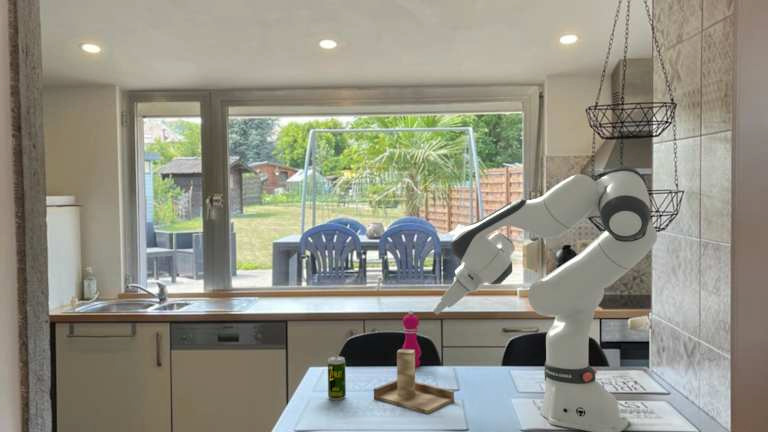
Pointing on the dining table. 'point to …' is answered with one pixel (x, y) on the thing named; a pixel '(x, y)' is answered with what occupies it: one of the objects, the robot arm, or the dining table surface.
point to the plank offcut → (405, 372)
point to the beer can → (336, 378)
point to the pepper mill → (411, 335)
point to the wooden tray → (415, 397)
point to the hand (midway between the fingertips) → (437, 310)
